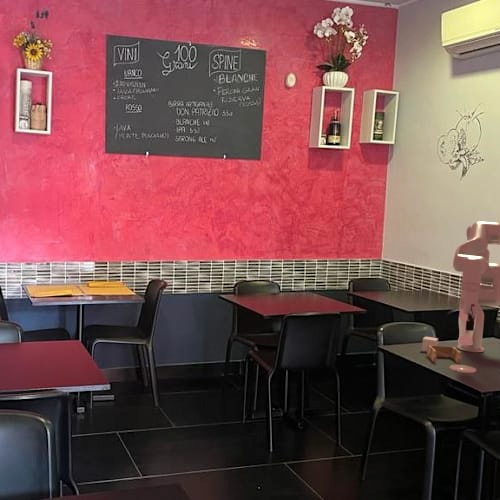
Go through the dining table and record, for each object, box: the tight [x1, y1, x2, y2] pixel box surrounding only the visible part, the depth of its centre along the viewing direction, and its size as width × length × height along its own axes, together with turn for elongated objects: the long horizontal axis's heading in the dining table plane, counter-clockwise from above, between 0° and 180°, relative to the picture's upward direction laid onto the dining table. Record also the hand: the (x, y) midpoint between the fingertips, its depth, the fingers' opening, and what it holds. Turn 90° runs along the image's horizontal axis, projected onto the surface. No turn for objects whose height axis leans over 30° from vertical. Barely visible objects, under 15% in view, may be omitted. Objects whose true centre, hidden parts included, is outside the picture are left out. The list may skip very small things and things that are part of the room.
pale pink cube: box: [421, 336, 439, 353], centre depth 322 cm, size 6×6×6 cm
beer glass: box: [457, 308, 476, 345], centre depth 290 cm, size 7×7×15 cm
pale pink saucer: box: [448, 364, 477, 374], centre depth 292 cm, size 11×11×1 cm
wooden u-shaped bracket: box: [426, 345, 462, 365], centre depth 307 cm, size 12×12×5 cm
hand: (466, 328), depth 290 cm, fingers closed on beer glass, 6 cm apart
